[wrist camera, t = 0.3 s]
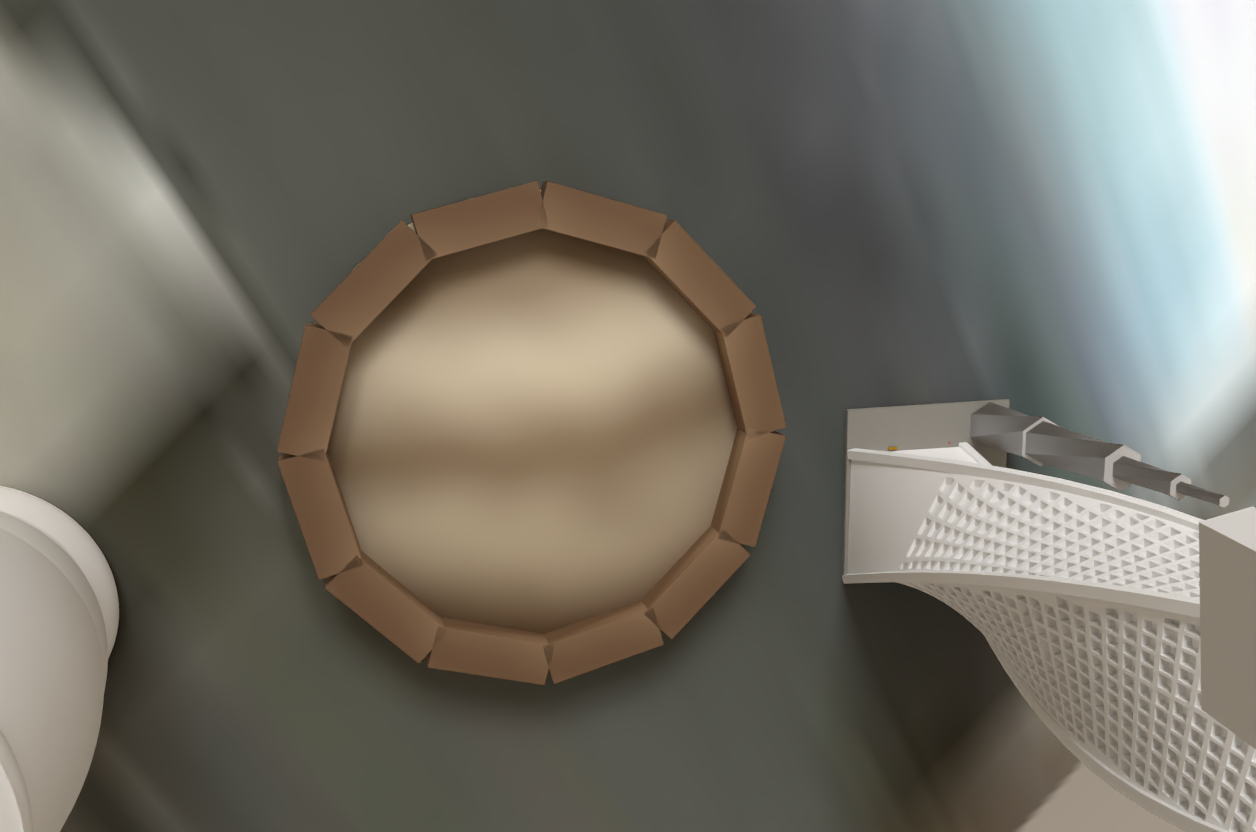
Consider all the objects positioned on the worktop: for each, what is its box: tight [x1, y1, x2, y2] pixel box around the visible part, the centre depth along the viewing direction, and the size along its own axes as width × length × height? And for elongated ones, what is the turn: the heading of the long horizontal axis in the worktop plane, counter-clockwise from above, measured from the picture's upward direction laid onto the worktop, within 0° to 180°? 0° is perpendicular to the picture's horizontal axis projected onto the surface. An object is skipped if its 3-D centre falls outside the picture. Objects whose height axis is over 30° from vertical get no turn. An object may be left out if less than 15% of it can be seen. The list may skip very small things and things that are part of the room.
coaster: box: [277, 181, 786, 685], centre depth 38 cm, size 17×17×2 cm
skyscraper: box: [842, 399, 1256, 832], centre depth 30 cm, size 8×8×28 cm
